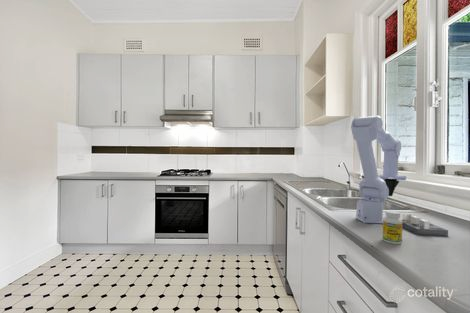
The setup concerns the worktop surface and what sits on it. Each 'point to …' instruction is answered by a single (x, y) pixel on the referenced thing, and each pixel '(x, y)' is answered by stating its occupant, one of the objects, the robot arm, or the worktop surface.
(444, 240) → the worktop surface
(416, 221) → the white slider knob
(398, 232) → the supplement bottle
